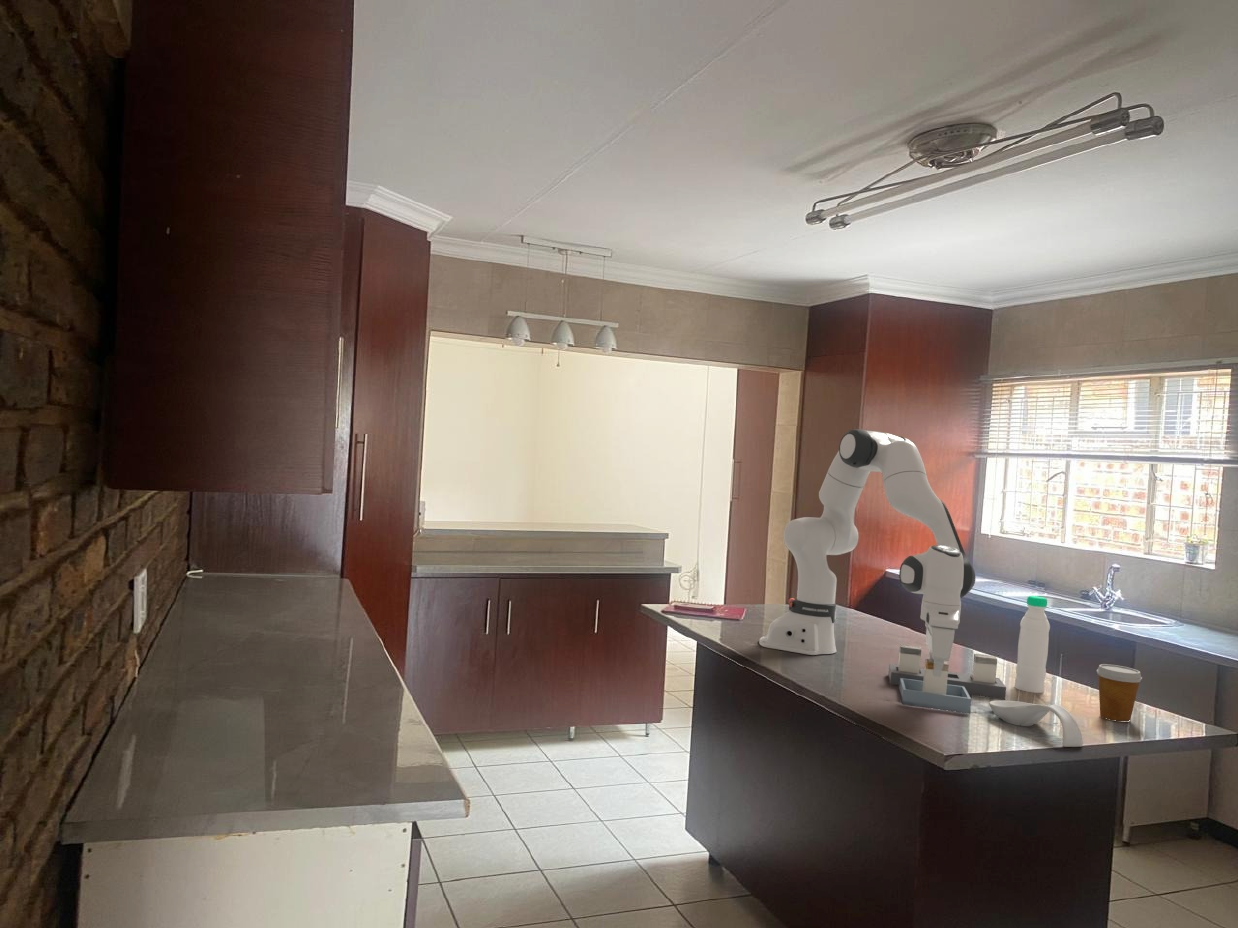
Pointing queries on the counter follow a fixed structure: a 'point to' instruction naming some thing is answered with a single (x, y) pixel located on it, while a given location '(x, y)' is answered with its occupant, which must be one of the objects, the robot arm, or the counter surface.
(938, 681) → the orange cap fuse
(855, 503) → the robot arm
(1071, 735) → the spoon rest
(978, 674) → the block
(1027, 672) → the water bottle
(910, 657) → the block
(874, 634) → the counter surface
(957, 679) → the fuse strip
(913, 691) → the tray
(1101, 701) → the disposable coffee cup
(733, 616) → the counter surface
